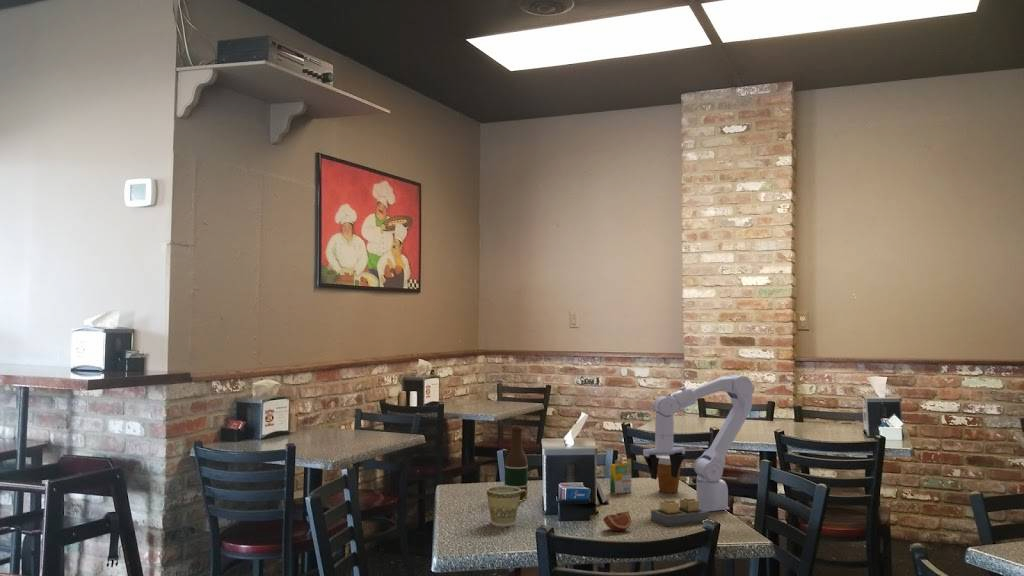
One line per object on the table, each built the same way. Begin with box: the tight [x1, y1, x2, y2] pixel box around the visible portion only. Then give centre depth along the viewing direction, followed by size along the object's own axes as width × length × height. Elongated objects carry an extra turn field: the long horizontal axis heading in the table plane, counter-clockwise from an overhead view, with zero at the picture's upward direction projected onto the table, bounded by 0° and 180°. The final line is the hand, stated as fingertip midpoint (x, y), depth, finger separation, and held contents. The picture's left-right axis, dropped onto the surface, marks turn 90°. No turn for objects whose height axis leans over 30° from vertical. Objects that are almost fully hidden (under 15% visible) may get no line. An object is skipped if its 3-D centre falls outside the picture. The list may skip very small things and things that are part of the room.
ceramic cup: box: [486, 485, 528, 528], centre depth 233 cm, size 13×10×10 cm
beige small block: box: [659, 498, 680, 515], centre depth 236 cm, size 4×4×6 cm
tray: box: [650, 496, 710, 528], centre depth 237 cm, size 15×8×6 cm, turn 114°
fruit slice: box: [603, 510, 632, 532], centre depth 226 cm, size 8×7×5 cm
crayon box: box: [609, 458, 632, 495], centre depth 276 cm, size 7×3×12 cm, turn 120°
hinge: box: [596, 479, 610, 506], centre depth 265 cm, size 17×5×10 cm, turn 21°
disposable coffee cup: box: [655, 455, 683, 494], centre depth 279 cm, size 10×10×12 cm
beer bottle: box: [504, 425, 529, 500], centre depth 264 cm, size 8×8×24 cm
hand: (664, 477), depth 252 cm, fingers open, 7 cm apart
